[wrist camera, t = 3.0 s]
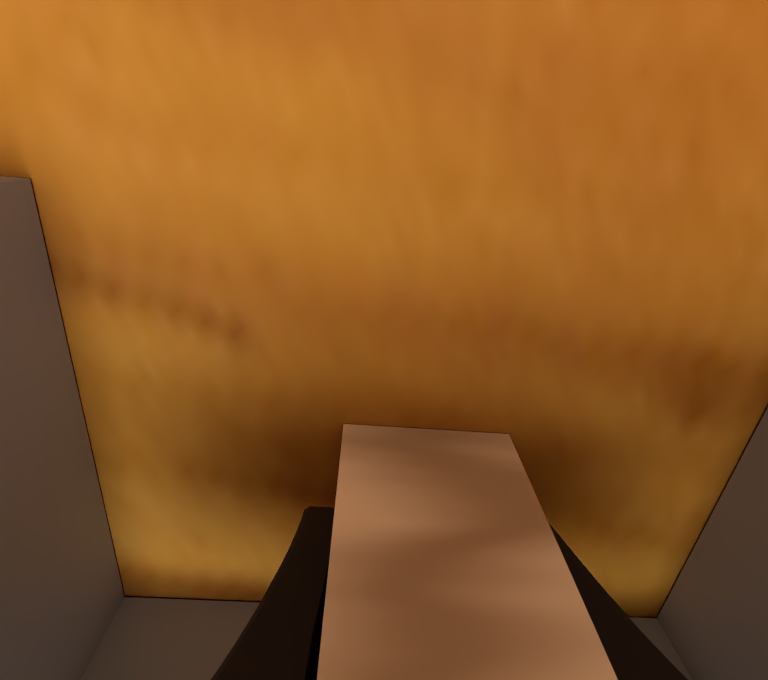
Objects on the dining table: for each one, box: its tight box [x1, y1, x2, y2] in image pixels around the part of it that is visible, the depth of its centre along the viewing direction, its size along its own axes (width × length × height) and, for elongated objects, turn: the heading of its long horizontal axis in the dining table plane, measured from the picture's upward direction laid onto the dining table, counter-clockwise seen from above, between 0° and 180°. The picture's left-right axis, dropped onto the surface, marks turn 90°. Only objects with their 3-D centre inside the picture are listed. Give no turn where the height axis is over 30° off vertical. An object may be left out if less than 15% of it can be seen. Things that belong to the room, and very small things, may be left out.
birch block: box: [317, 424, 618, 680], centre depth 9 cm, size 4×4×6 cm
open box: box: [0, 176, 768, 680], centre depth 9 cm, size 18×12×5 cm
